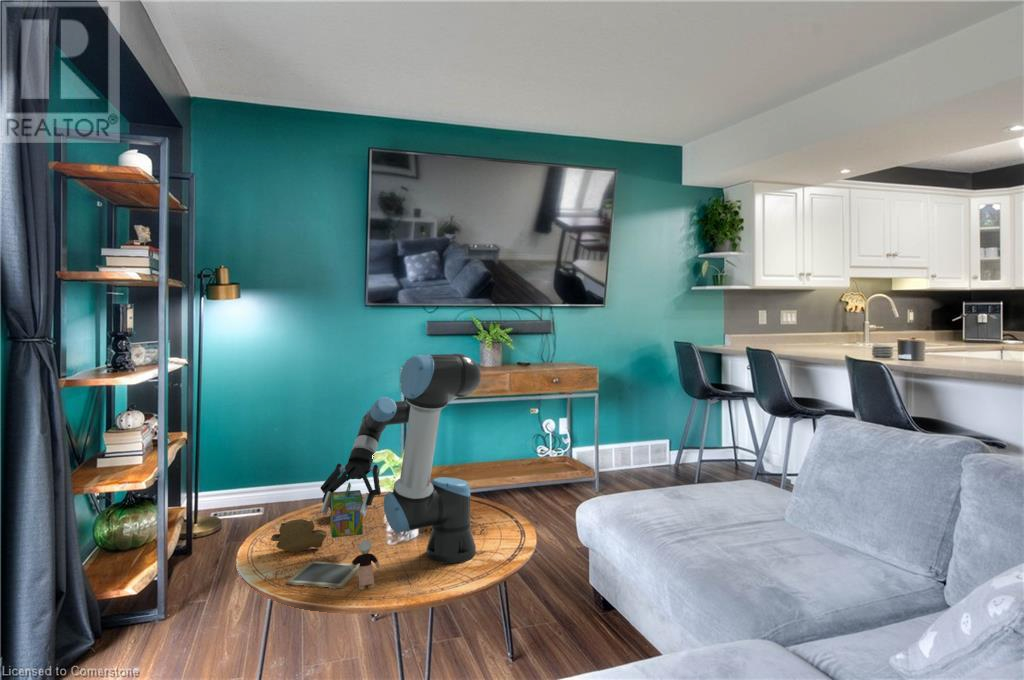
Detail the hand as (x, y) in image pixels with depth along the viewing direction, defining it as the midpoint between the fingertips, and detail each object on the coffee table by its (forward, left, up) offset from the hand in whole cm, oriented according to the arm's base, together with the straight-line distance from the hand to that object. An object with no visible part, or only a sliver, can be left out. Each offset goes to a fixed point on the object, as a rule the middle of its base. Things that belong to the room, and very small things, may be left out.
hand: (342, 513), depth 174 cm
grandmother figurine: (-14, +17, -14) cm, 26 cm away
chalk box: (0, -3, -7) cm, 7 cm away
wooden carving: (+17, -4, -14) cm, 22 cm away
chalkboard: (0, +12, -14) cm, 18 cm away
